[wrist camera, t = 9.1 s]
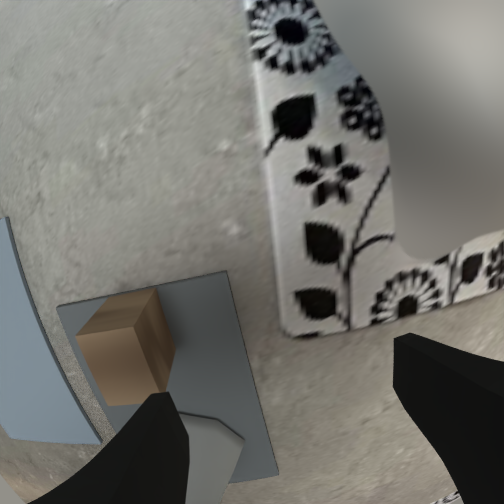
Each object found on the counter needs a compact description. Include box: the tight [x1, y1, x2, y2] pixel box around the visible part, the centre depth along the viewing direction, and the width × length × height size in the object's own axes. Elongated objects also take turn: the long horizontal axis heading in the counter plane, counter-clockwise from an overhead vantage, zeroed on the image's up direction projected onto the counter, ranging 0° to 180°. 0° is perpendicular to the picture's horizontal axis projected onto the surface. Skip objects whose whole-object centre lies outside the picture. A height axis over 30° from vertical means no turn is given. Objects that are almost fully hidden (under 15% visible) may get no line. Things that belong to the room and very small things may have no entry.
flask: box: [179, 414, 245, 504], centre depth 15 cm, size 7×7×10 cm
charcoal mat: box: [56, 271, 279, 484], centre depth 17 cm, size 18×11×5 cm, turn 12°
